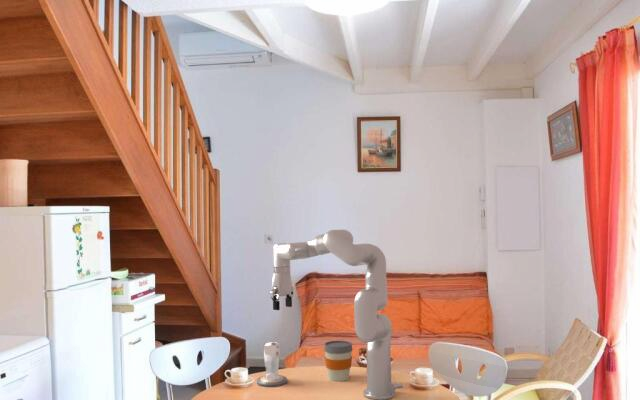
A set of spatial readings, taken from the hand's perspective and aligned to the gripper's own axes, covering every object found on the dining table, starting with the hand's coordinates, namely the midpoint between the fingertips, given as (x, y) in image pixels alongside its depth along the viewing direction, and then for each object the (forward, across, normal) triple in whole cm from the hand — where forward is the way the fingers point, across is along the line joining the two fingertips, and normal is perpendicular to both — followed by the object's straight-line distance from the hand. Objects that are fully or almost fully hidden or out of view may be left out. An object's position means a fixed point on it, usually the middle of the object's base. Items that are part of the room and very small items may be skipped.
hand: (282, 308), depth 225 cm
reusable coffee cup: (+31, -8, +24) cm, 39 cm away
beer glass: (+29, +10, +1) cm, 30 cm away
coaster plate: (+30, +10, 0) cm, 32 cm away
